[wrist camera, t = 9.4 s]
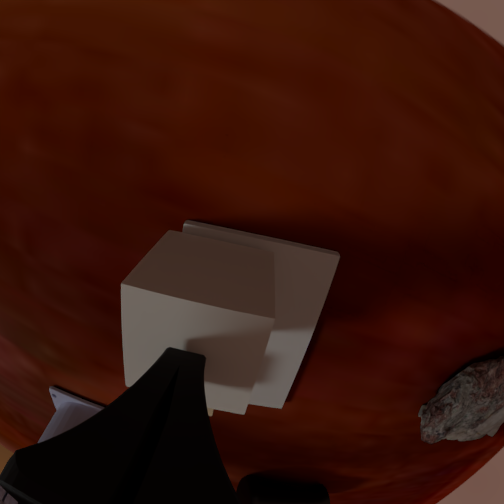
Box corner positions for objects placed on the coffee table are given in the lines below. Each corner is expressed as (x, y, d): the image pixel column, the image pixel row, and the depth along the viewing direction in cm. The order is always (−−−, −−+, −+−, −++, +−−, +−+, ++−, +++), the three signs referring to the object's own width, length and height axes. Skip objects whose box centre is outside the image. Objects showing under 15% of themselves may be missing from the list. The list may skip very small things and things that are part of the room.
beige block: (251, 336, 17) (244, 414, 12) (161, 316, 17) (125, 385, 12) (274, 252, 15) (275, 319, 10) (169, 229, 15) (121, 283, 10)
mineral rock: (541, 349, 19) (562, 376, 15) (498, 408, 22) (514, 436, 18) (449, 335, 18) (475, 375, 14) (397, 410, 21) (410, 451, 17)
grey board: (281, 402, 21) (281, 441, 17) (171, 381, 20) (158, 418, 17) (337, 251, 16) (354, 284, 13) (186, 219, 16) (165, 245, 12)
